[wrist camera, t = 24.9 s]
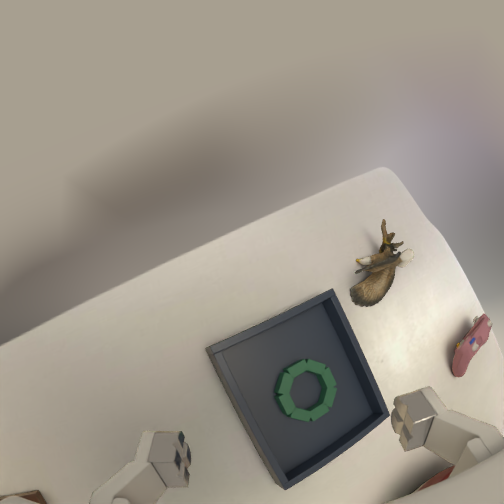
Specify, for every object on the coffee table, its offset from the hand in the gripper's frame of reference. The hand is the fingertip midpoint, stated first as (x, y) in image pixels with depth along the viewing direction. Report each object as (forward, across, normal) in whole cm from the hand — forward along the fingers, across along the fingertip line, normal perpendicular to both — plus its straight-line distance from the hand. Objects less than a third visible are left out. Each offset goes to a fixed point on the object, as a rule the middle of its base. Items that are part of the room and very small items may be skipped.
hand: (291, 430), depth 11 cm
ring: (+17, -3, +14) cm, 22 cm away
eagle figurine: (+28, -14, +7) cm, 32 cm away
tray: (+18, -3, +14) cm, 23 cm away
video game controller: (+25, -30, +21) cm, 44 cm away
